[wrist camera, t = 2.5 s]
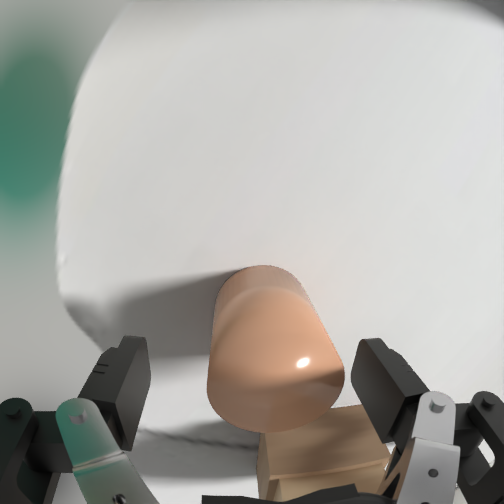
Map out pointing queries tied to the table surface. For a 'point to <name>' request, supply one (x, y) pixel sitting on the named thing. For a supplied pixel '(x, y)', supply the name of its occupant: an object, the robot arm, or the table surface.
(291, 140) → the table surface
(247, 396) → the cylinder
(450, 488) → the robot arm
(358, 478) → the tower mid
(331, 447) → the tower base
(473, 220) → the table surface
